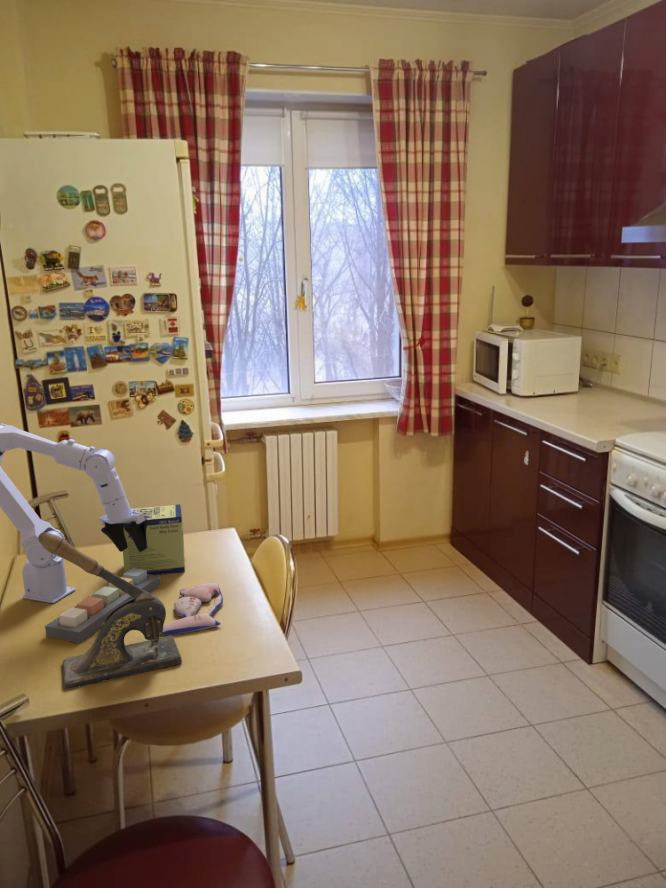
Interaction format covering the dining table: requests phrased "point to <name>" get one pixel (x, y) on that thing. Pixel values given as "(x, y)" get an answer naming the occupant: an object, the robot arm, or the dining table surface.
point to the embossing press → (116, 628)
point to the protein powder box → (158, 542)
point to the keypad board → (96, 616)
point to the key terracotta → (91, 605)
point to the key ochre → (120, 589)
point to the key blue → (136, 575)
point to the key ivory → (73, 617)
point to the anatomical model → (194, 609)
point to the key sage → (107, 594)
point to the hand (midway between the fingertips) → (133, 549)
